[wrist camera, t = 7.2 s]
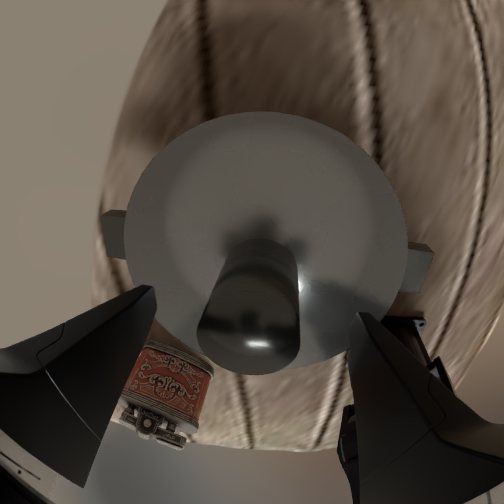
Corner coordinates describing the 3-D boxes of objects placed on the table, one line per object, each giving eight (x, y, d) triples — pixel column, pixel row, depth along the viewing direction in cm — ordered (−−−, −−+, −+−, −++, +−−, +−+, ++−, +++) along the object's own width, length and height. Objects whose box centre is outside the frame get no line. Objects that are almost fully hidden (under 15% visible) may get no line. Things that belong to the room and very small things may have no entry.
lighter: (143, 352, 27) (105, 423, 18) (146, 335, 25) (103, 411, 16) (209, 381, 27) (186, 458, 19) (218, 365, 26) (194, 450, 17)
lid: (425, 142, 9) (504, 164, 4) (356, 363, 14) (368, 435, 10) (128, 115, 10) (42, 122, 5) (152, 337, 15) (118, 400, 11)
